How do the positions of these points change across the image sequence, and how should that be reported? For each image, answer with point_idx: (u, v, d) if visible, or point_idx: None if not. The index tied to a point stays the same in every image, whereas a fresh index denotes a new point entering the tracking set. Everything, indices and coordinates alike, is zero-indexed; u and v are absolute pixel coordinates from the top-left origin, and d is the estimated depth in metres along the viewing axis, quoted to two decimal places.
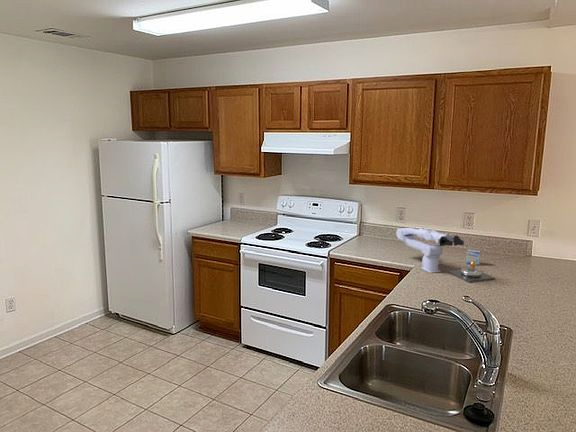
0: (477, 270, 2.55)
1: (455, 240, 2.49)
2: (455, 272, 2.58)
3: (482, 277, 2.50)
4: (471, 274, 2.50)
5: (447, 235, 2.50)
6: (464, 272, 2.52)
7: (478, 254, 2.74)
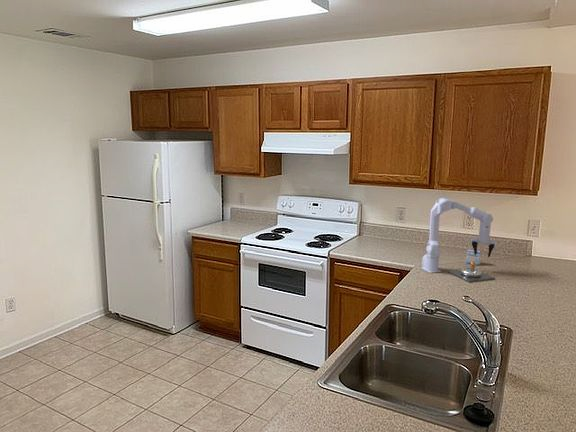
0: (477, 270, 2.55)
1: (476, 244, 2.61)
2: (455, 272, 2.58)
3: (482, 277, 2.50)
4: (471, 274, 2.50)
5: None
6: (464, 272, 2.52)
7: (478, 254, 2.74)
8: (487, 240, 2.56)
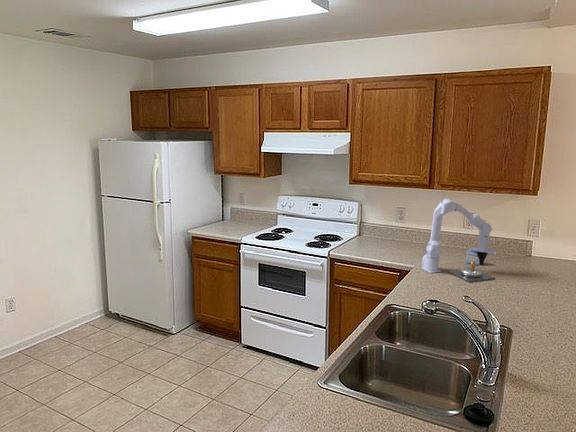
0: (477, 270, 2.55)
1: None
2: (455, 272, 2.58)
3: (482, 277, 2.50)
4: (471, 274, 2.50)
5: None
6: (464, 272, 2.52)
7: None
8: (486, 249, 2.57)
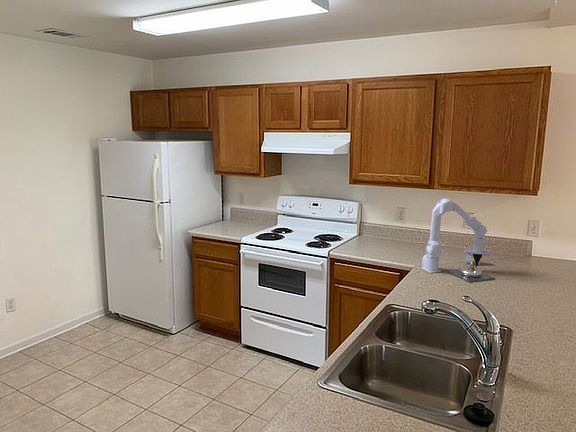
0: (477, 270, 2.55)
1: None
2: (455, 272, 2.58)
3: (482, 277, 2.50)
4: (471, 274, 2.50)
5: None
6: (464, 272, 2.52)
7: None
8: (482, 251, 2.59)
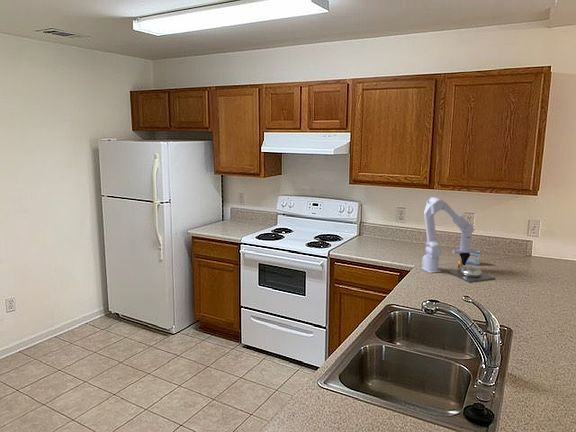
0: (474, 269, 2.57)
1: None
2: (455, 272, 2.58)
3: (482, 277, 2.50)
4: (477, 274, 2.50)
5: None
6: (470, 273, 2.50)
7: (478, 254, 2.74)
8: (470, 249, 2.62)
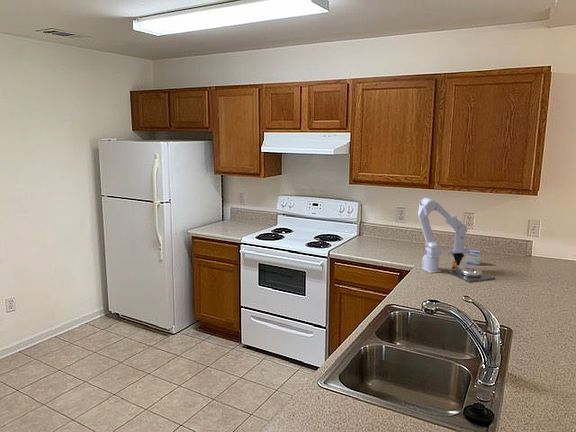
0: (472, 268, 2.58)
1: None
2: (455, 272, 2.58)
3: (482, 277, 2.50)
4: (480, 274, 2.51)
5: None
6: (474, 274, 2.49)
7: (478, 254, 2.74)
8: (463, 249, 2.62)
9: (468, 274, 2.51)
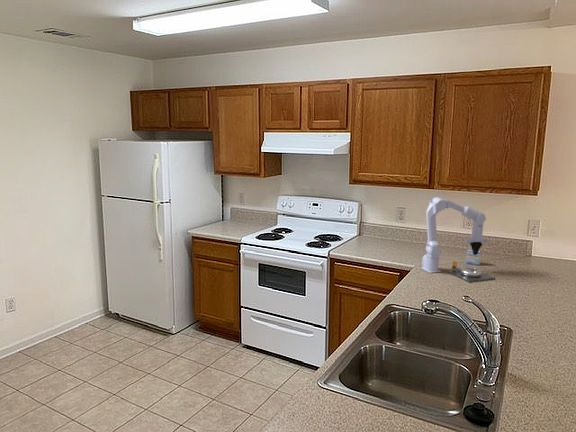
0: (472, 268, 2.58)
1: None
2: (455, 272, 2.58)
3: (482, 277, 2.50)
4: (480, 274, 2.51)
5: None
6: (474, 274, 2.49)
7: (478, 254, 2.74)
8: (481, 238, 2.60)
9: (468, 274, 2.51)
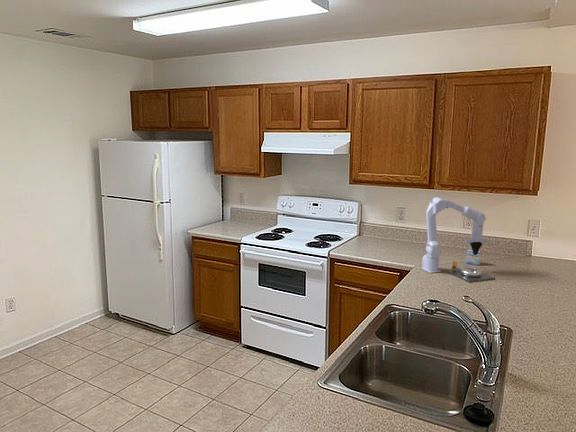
0: (472, 268, 2.58)
1: None
2: (455, 272, 2.58)
3: (482, 277, 2.50)
4: (480, 274, 2.51)
5: None
6: (474, 274, 2.49)
7: (478, 254, 2.74)
8: (481, 238, 2.60)
9: (468, 274, 2.51)
